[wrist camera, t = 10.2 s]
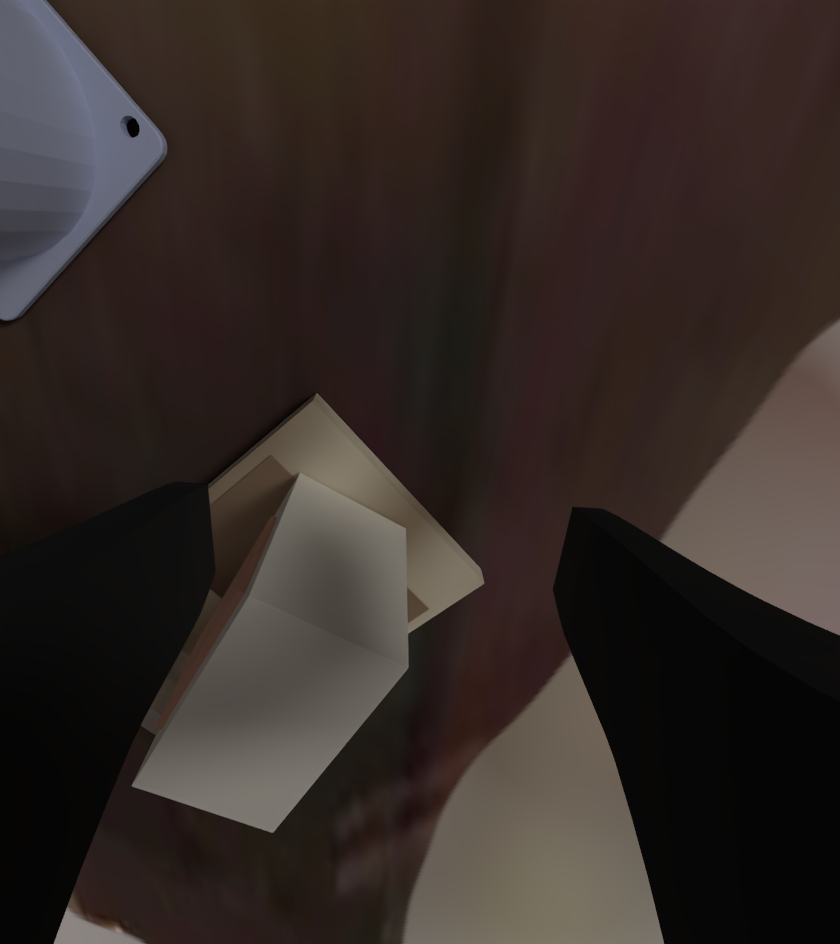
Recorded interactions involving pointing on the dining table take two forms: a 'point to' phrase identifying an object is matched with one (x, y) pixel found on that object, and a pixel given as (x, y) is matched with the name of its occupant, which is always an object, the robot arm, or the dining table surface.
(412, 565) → the cream tray
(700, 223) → the dining table surface
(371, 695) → the carton
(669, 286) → the dining table surface
